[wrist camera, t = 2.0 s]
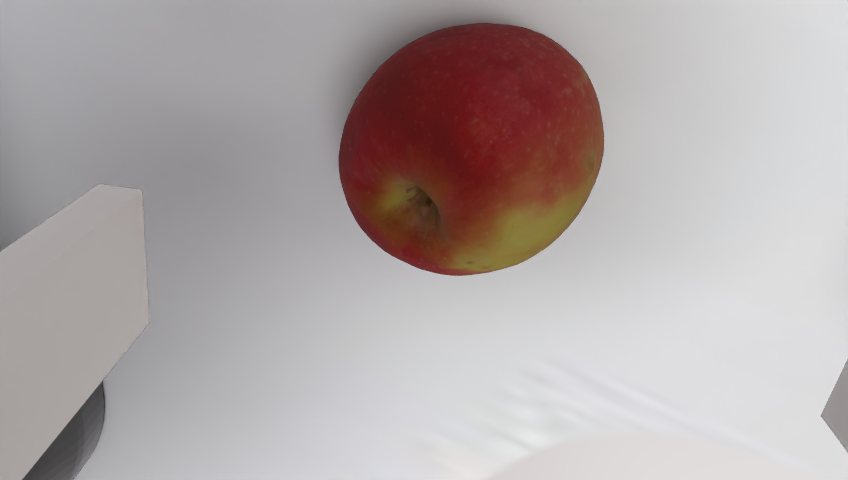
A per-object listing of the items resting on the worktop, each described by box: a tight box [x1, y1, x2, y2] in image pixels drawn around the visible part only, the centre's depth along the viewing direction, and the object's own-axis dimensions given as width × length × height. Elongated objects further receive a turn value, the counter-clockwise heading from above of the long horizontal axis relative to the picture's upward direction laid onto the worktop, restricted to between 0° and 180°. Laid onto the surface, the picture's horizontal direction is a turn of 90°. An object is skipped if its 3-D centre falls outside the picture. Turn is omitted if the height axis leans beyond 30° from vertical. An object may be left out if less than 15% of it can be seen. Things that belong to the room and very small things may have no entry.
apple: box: [339, 23, 604, 276], centre depth 21 cm, size 8×8×8 cm
